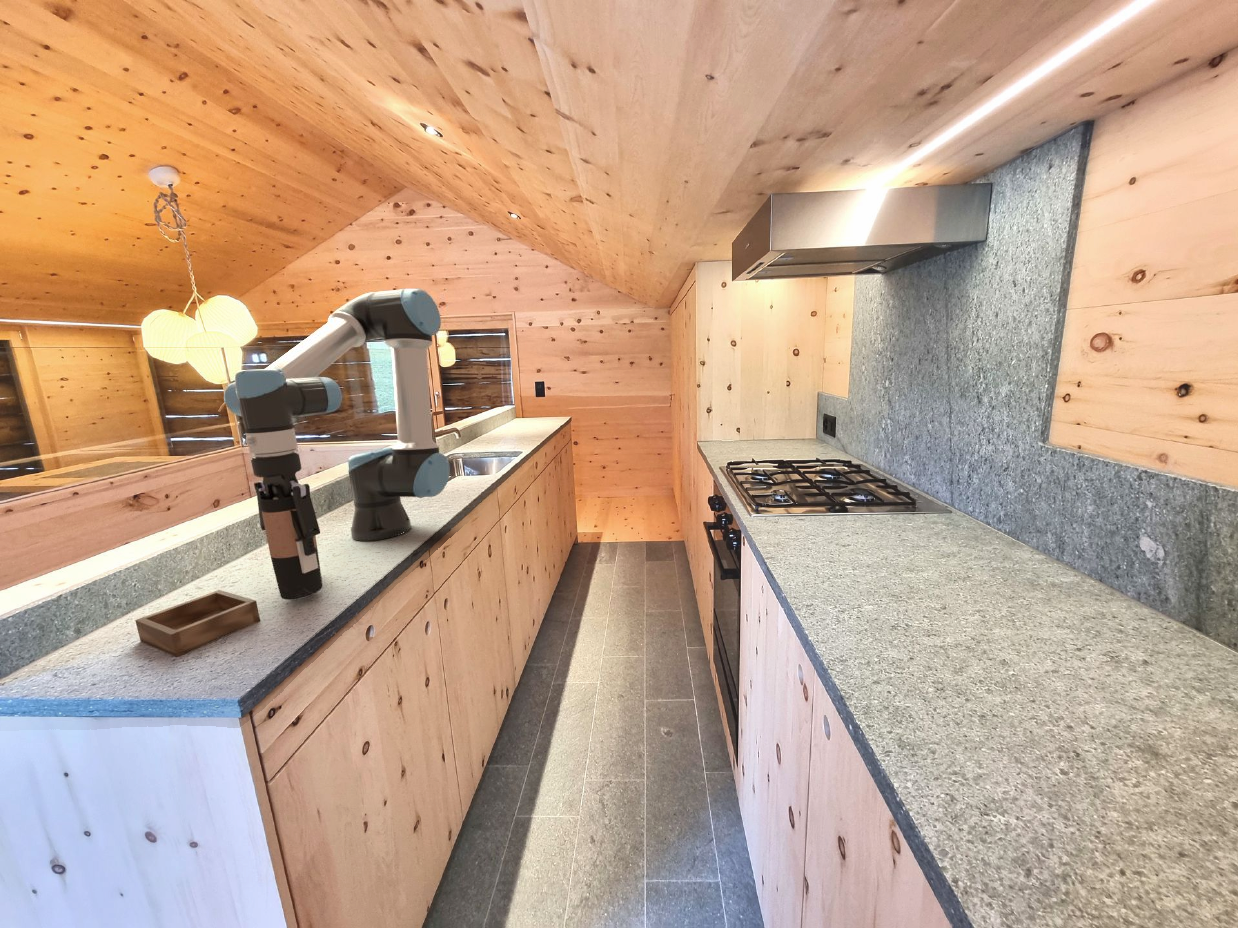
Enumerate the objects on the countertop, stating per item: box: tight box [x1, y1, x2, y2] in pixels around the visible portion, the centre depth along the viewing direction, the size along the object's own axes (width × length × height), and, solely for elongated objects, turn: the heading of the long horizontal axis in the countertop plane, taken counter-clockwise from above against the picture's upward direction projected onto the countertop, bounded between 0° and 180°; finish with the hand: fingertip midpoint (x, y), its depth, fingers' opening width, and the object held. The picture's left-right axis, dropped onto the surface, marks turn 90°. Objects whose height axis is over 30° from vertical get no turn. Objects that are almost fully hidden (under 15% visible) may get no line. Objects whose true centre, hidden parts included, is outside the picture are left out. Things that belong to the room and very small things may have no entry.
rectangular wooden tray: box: [134, 589, 261, 658], centre depth 88 cm, size 12×12×4 cm
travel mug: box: [260, 495, 323, 601], centre depth 97 cm, size 8×8×20 cm
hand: (297, 566), depth 98 cm, fingers closed on travel mug, 8 cm apart
